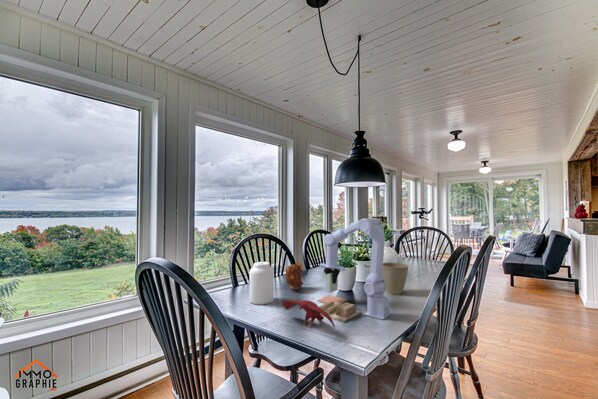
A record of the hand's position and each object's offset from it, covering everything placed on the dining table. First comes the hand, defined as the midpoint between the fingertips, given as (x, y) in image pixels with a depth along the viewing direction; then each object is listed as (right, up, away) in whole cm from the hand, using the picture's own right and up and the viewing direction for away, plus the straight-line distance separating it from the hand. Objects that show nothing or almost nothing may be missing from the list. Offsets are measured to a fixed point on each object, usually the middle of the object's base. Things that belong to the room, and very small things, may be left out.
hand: (332, 282), depth 154 cm
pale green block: (0, -4, 0) cm, 4 cm away
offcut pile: (+4, -8, -21) cm, 23 cm away
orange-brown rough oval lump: (-21, -10, +20) cm, 31 cm away
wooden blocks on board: (+1, -9, -18) cm, 20 cm away
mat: (0, -9, 0) cm, 9 cm away
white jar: (-37, -10, 0) cm, 38 cm away
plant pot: (+37, -10, +14) cm, 41 cm away
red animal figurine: (-13, -9, -31) cm, 34 cm away
